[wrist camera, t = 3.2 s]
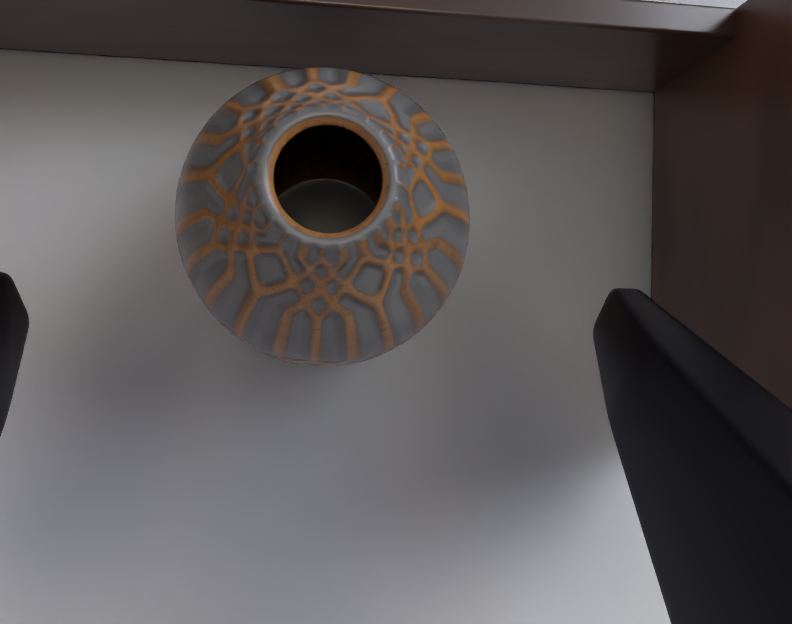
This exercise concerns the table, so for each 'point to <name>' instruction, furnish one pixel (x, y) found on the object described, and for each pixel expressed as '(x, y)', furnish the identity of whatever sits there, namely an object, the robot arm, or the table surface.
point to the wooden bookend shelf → (551, 65)
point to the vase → (322, 216)
